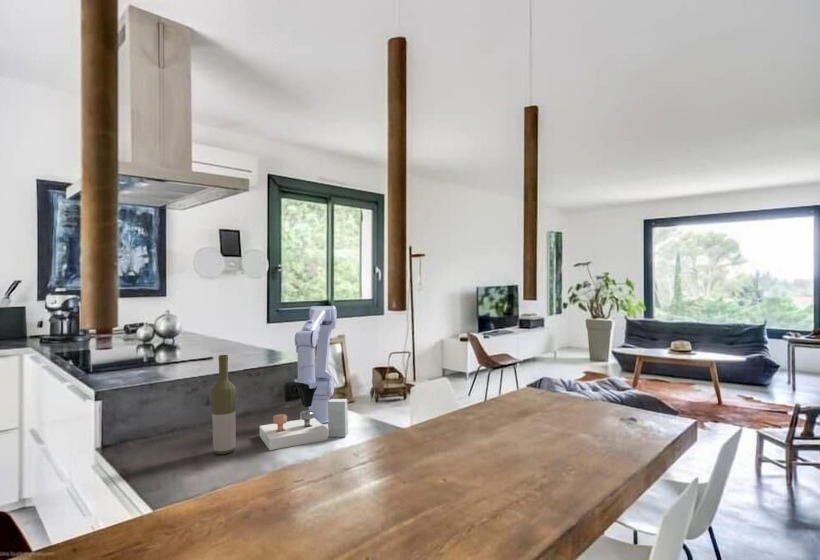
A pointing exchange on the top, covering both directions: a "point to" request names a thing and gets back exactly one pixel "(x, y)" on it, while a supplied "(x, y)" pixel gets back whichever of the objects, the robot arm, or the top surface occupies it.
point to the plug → (306, 417)
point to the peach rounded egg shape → (280, 421)
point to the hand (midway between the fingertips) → (306, 405)
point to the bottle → (223, 410)
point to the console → (293, 434)
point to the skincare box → (337, 418)
